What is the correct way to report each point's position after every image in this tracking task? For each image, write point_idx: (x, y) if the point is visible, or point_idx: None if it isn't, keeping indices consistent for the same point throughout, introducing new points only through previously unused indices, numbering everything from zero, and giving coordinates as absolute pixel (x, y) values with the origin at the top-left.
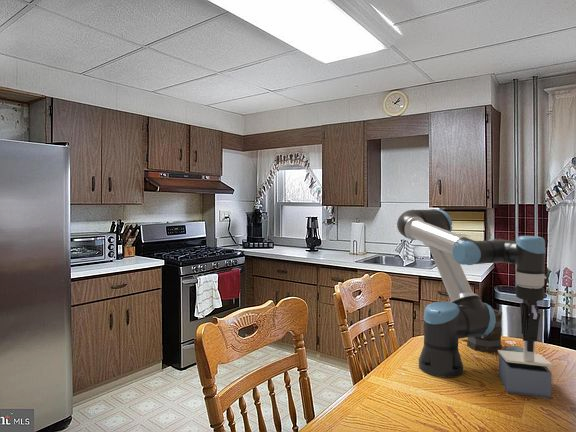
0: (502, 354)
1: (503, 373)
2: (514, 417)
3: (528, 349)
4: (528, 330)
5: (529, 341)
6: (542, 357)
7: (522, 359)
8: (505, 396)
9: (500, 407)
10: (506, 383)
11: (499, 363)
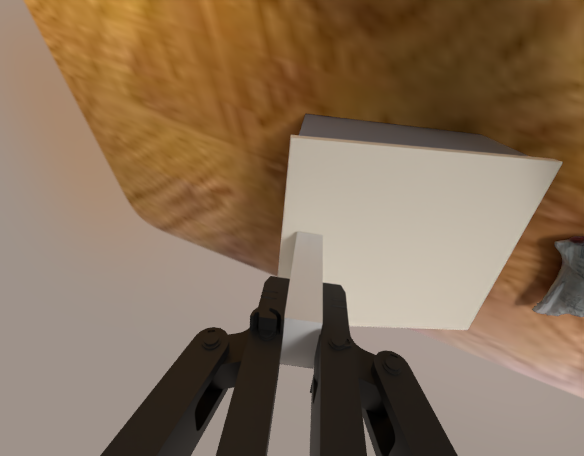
0: (438, 156)
1: (387, 132)
2: (121, 77)
3: (263, 287)
4: (138, 426)
5: (248, 334)
6: (406, 323)
7: (339, 233)
8: (275, 97)
9: (176, 45)
10: (319, 120)
11: (490, 146)
